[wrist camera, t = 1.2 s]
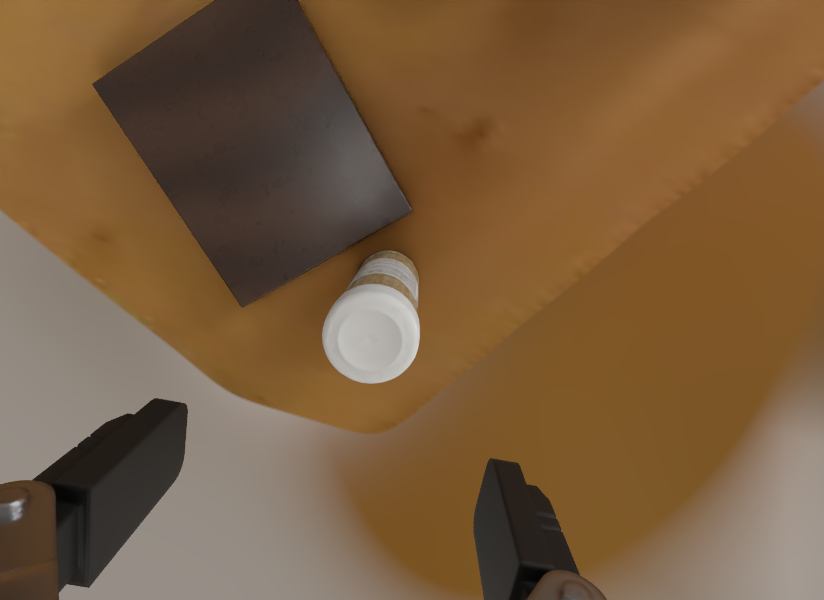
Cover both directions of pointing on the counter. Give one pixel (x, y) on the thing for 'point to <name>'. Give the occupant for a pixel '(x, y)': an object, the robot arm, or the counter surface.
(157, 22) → the counter surface
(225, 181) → the walnut board
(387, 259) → the sprinkles bottle
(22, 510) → the robot arm
